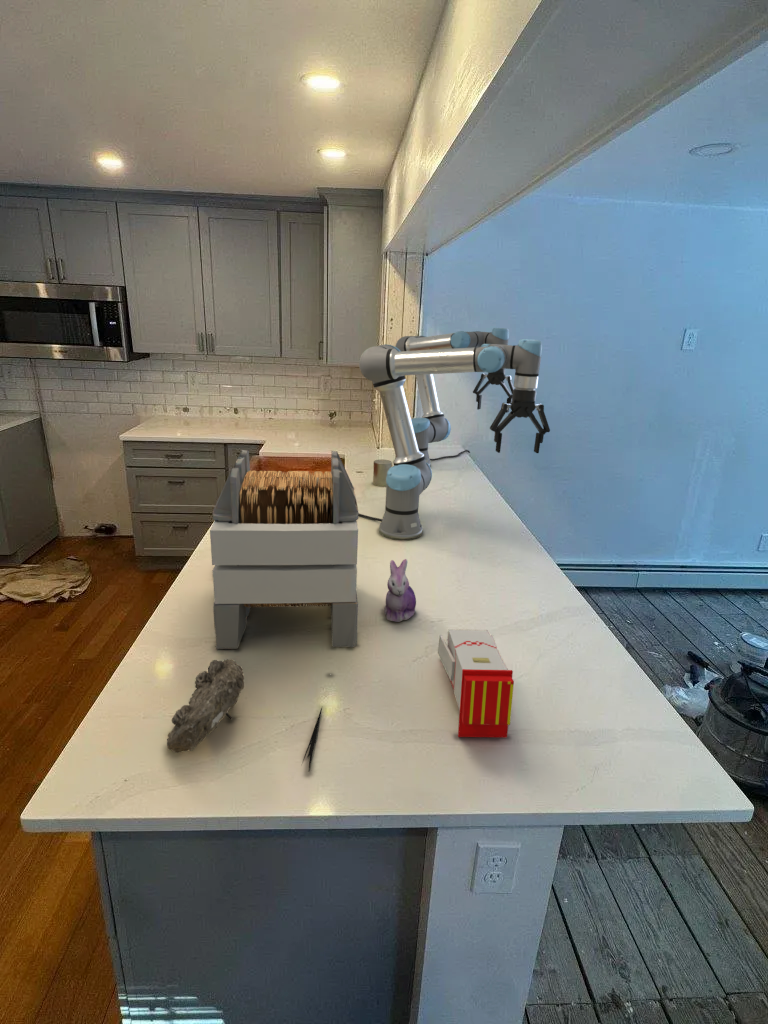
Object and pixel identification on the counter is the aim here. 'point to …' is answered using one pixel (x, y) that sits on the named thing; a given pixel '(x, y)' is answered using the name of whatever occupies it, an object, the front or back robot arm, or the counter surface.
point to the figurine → (399, 594)
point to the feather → (313, 740)
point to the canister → (381, 471)
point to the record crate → (285, 547)
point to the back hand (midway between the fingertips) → (492, 410)
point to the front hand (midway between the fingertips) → (517, 452)
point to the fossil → (206, 705)
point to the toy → (478, 682)
